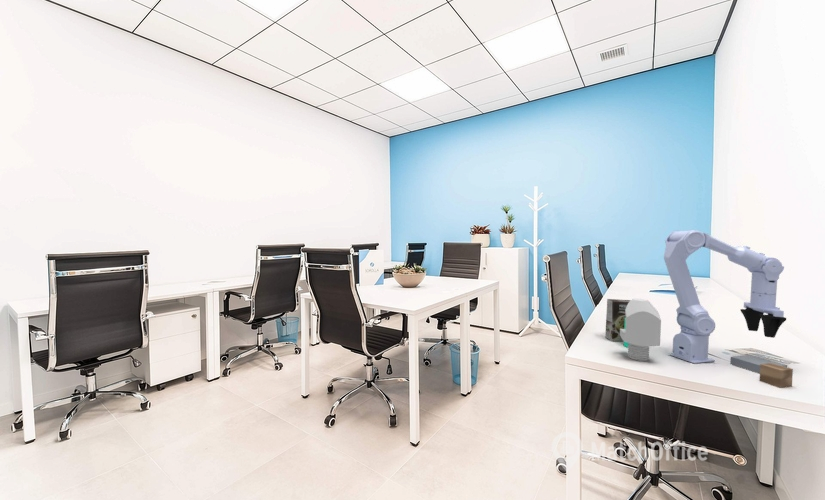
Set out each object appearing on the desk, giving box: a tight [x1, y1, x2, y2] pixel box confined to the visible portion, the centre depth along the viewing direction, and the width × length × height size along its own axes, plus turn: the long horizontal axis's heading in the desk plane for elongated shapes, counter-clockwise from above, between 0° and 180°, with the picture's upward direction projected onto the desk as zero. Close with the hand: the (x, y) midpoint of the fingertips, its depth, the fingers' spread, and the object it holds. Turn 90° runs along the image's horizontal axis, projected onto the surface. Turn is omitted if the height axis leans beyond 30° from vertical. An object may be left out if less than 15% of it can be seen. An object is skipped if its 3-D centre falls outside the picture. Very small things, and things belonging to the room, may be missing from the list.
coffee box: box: [604, 298, 632, 343], centre depth 129 cm, size 9×6×16 cm
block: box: [759, 363, 794, 389], centre depth 90 cm, size 4×4×5 cm
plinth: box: [729, 354, 788, 375], centre depth 101 cm, size 9×9×2 cm
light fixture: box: [620, 298, 662, 362], centre depth 109 cm, size 9×9×20 cm
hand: (760, 333), depth 106 cm, fingers open, 7 cm apart
